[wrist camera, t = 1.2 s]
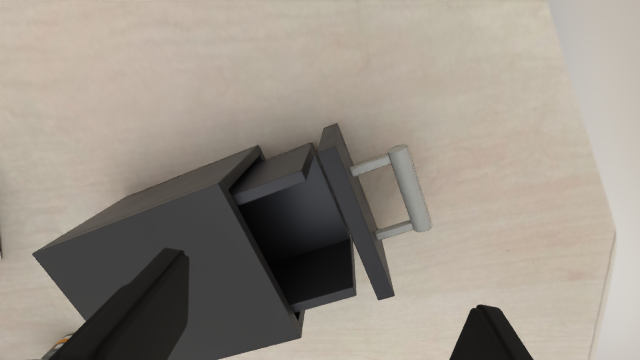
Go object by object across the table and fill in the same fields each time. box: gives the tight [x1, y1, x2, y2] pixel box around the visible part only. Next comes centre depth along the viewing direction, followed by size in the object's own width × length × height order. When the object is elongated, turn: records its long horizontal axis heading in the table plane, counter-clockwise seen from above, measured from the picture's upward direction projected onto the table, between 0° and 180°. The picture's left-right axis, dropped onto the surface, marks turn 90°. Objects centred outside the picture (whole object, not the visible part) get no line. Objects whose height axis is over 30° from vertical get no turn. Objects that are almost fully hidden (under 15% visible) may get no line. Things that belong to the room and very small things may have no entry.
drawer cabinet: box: [32, 145, 305, 360], centre depth 26 cm, size 15×13×10 cm
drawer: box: [228, 123, 432, 313], centre depth 24 cm, size 18×11×8 cm, turn 112°
